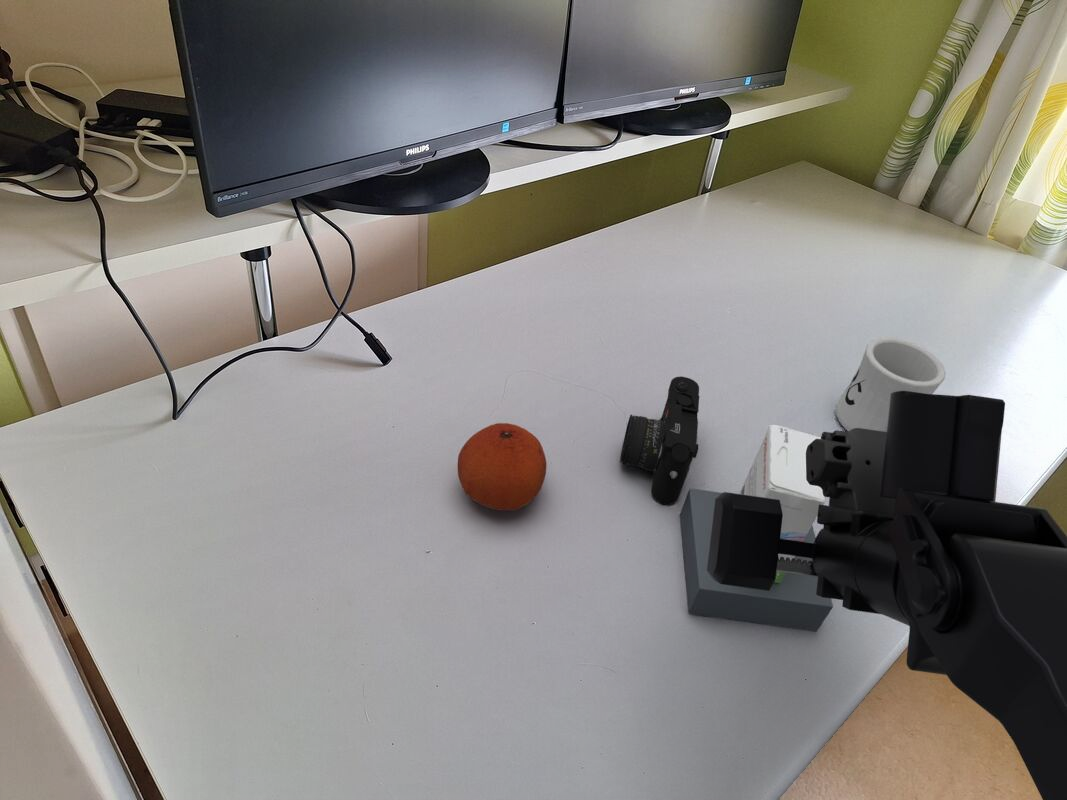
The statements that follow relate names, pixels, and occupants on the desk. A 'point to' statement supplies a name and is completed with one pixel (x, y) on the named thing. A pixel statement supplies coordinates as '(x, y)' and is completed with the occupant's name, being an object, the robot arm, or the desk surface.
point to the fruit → (502, 467)
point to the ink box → (786, 482)
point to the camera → (666, 441)
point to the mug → (886, 381)
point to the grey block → (707, 597)
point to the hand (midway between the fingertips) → (802, 541)
